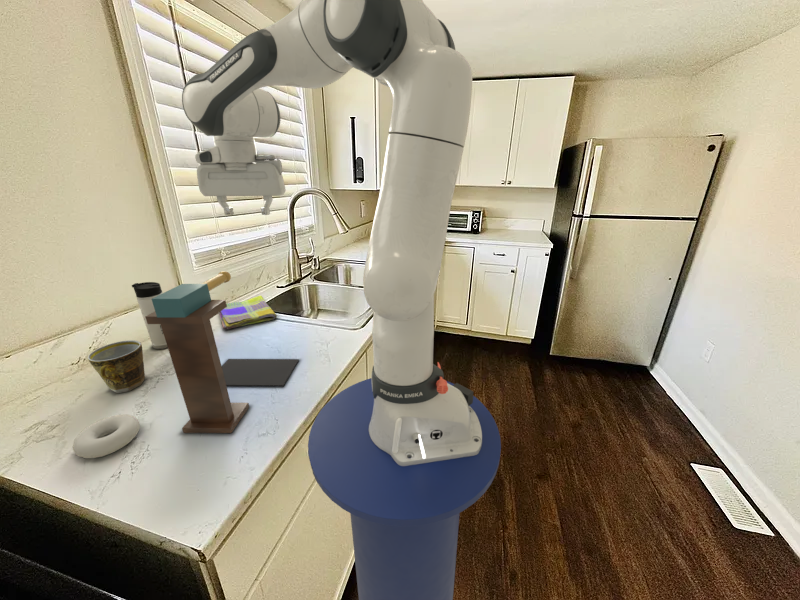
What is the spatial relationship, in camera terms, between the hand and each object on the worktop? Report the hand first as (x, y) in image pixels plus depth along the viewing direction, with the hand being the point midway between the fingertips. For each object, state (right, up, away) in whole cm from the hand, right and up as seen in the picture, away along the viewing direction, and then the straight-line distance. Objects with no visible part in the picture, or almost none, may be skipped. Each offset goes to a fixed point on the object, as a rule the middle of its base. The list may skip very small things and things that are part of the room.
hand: (247, 214), depth 83 cm
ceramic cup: (-29, -44, -2) cm, 52 cm away
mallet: (0, -21, -18) cm, 28 cm away
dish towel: (-19, -27, +39) cm, 51 cm away
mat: (0, -41, +3) cm, 41 cm away
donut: (-18, -50, -18) cm, 56 cm away
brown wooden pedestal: (0, -48, -13) cm, 49 cm away
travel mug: (-34, -36, +18) cm, 53 cm away
